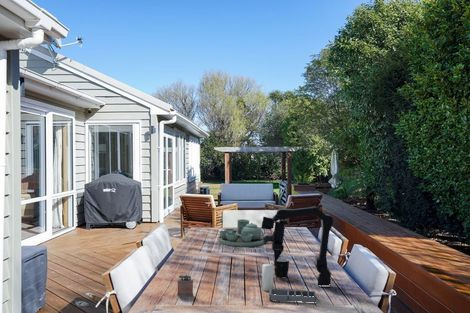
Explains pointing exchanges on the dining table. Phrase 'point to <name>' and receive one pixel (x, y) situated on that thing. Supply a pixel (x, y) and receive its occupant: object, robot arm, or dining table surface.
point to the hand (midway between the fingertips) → (275, 258)
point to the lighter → (185, 285)
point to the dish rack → (287, 295)
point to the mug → (281, 267)
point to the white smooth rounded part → (267, 276)
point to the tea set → (242, 235)
